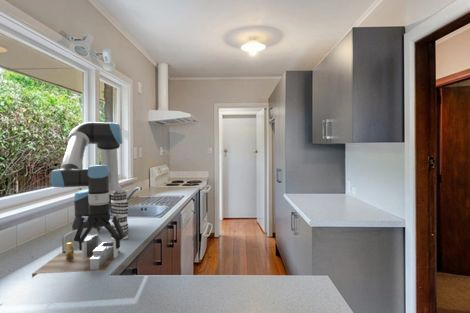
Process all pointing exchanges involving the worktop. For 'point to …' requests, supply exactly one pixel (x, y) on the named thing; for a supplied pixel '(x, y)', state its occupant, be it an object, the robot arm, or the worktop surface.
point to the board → (69, 264)
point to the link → (101, 255)
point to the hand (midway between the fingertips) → (100, 257)
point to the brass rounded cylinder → (69, 250)
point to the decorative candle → (119, 210)
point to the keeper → (91, 243)
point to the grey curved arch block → (71, 236)
